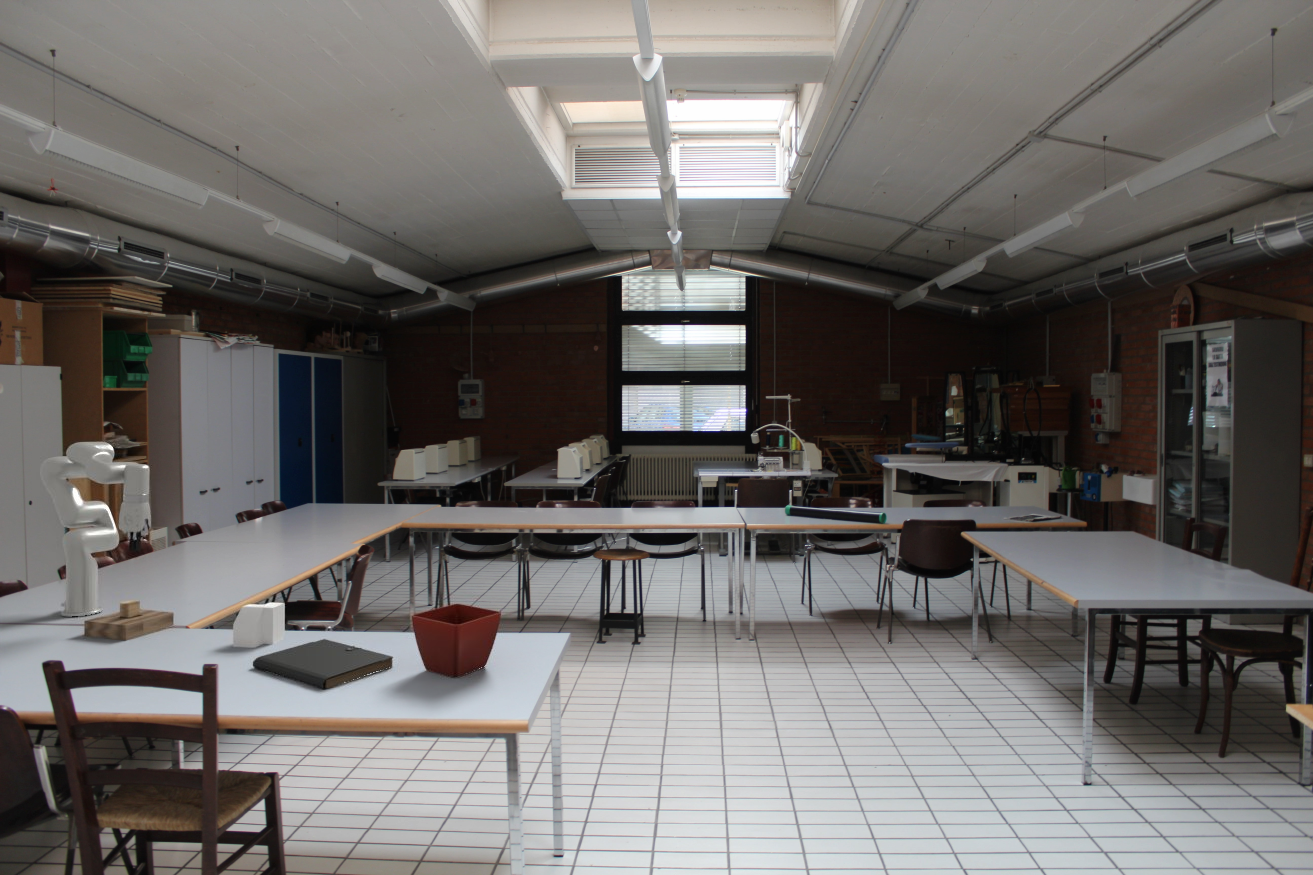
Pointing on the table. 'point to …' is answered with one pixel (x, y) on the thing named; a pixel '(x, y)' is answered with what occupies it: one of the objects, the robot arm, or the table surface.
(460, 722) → the table surface
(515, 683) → the table surface
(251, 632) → the corner bracket
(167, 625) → the board
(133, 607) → the peg
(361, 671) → the dark grey book
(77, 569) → the robot arm
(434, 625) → the plant pot
